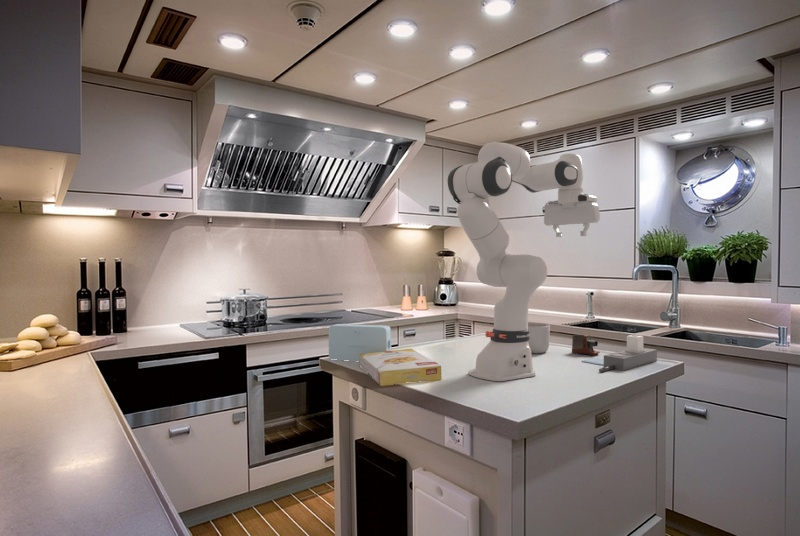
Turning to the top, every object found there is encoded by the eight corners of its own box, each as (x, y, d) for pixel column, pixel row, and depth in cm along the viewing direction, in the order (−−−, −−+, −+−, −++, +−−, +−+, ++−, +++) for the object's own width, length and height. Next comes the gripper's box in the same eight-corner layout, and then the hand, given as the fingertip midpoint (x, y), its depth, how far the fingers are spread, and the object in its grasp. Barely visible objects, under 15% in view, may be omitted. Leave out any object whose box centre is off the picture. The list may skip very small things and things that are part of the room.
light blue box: (327, 360, 182) (327, 325, 182) (334, 357, 188) (334, 323, 188) (385, 364, 175) (385, 327, 175) (391, 361, 181) (390, 325, 180)
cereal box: (411, 347, 178) (442, 363, 151) (412, 362, 178) (443, 380, 151) (358, 353, 171) (380, 369, 145) (358, 368, 172) (381, 388, 145)
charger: (638, 357, 170) (638, 336, 170) (626, 355, 173) (626, 335, 173) (643, 355, 173) (643, 335, 173) (632, 354, 176) (632, 333, 176)
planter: (554, 354, 189) (554, 326, 189) (522, 354, 189) (522, 327, 189) (544, 348, 202) (544, 322, 201) (514, 349, 201) (514, 322, 201)
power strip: (610, 374, 156) (610, 361, 156) (590, 370, 161) (590, 358, 161) (656, 360, 176) (656, 349, 176) (637, 357, 181) (637, 346, 181)
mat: (602, 365, 169) (602, 364, 169) (581, 361, 175) (581, 360, 175) (614, 362, 174) (614, 361, 174) (593, 358, 180) (593, 357, 180)
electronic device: (595, 356, 184) (595, 336, 184) (571, 353, 191) (570, 334, 191) (600, 355, 188) (599, 335, 187) (576, 352, 194) (576, 333, 194)
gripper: (540, 201, 184) (541, 237, 184) (594, 195, 169) (594, 235, 170) (548, 202, 188) (549, 237, 188) (601, 197, 174) (601, 235, 174)
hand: (570, 236), depth 179 cm, fingers open, 8 cm apart
